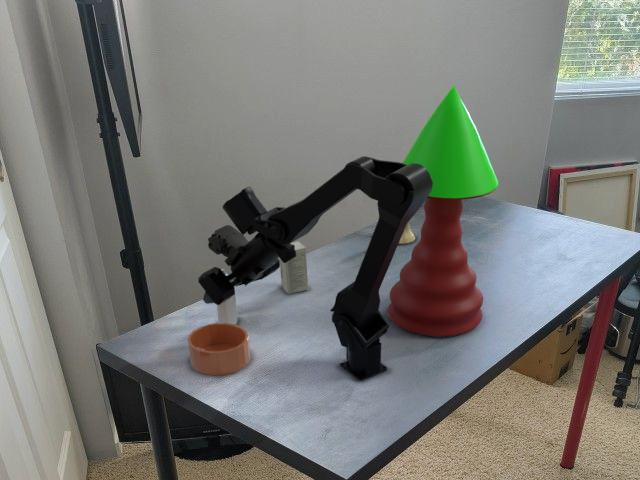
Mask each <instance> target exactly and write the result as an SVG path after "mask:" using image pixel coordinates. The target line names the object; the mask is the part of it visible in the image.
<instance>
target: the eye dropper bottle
mask: <svg viewBox="0 0 640 480" xmlns="http://www.w3.org/2000/svg"><path fill="white" fill-rule="evenodd" d="M220 269H221V268H220ZM225 269H226V268H222V269H221V270H222V272H223V273H224V274H225V276H227V275H229V274H228V273H227V272H226V270H225ZM215 305H216V315H217V323H228V324H234V325H237V323H238V319H239V317H238V309H237V307H238V306H237V298H236V293H235V294H234V295H233V296H232V297H231V298H230V299H228V300H227V301H225V302H223V303H222V304H220V305H217V304H215Z"/></svg>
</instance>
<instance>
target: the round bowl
mask: <svg viewBox="0 0 640 480" xmlns="http://www.w3.org/2000/svg"><path fill="white" fill-rule="evenodd" d="M249 337H250V336H249V333H248V331H247V330H246V329H245V328H243V327H242V326H240V325H237V324H236V325H234V324H228V323H218V322H216V323H210V324H206V325H205V324H204V325H203V326H200V327H198V328H195V329H194V330H193V331H192V332H190V334H189V335H188V337H187V347H188V354H189V360H190V365H191V367H192V368H193V369H194V370H195V371H197V372H199V373H201V374H205V375H208V376H209V375H210V376H226V375H231V374H234V373H236V372H239V371H241V370H242V369H244V368H245V367H246V366H247V365H248V364H249V362H250V359H251V351H250V349H251V348H250V339H249Z"/></svg>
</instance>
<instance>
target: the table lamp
mask: <svg viewBox="0 0 640 480" xmlns="http://www.w3.org/2000/svg"><path fill="white" fill-rule="evenodd" d="M402 163H404V164H407V165H409V164H412V163H417V164H420V165H422V166H423V167H425V168H426V169H427V171H428V172H429V174H430V176H431V179H432V180H433V186H432V190H431V192H430V194H429V195H428V197H427V198H426V200H425V201H424V203H423V211H424V216H425V218H424V221H423V223H422V225H421V229H420V239H419V241H417V243H416V244H415V245H414V247H413V249H412V251H411V255H410V260H409V261H407V263H405V264H404V265H403V266H402V267H401V269H400V272H399V280H398V281H397V282H395V284H393V286H392V287H391V288H390V290H389V301H390V303H389V306H388V307H387V315H388V317H389V319H390V320H391V321H392V323H394V324H395V325H396V326H397V327H399V328H400V329H402V330H404V331H406V332H409V333H411V334H415V335H421V336H426V337H427V336H428V337H436V338H437V337H439V338H440V337H441V338H444V337H445V338H446V337H453V336H458V335H462V334H466V333H468V332H470V331H472V330H474V329H475V328H476V327H478V326H479V325H480V324H481V322H482V320H483V312H482V306H483V304H484V295H483V293H482V291H481V290H480V288H479V287H478V285H476V284H477V274H476V272H475V270H474V269H473V268H472V267H471V266H470V264H469V263H468V262H469V261H468V259H469V256H468V251H467V249H466V247H465V245H464V244H463V243H462V237H463V228H462V225H461V217H462V215H463V211H464V202H463V200H470V199H477V198H481V197H484V196H487V195H490V194H492V193H493V192H495V191H496V189H498V187H499V179H498V178H497V176H496V172H495V170H494V168H493V165H492V163H491V160H490V159H489V155H488V153H487V151H486V148H485V146H484V144H483V140H482V139H481V136H480V134H479V132H478V129H477V127H476V125H475V123H474V121H473V119H472V117H471V115H470V113H469V111H468V109H467V108H466V105H465V104H464V102H463V100H462V97H460V95H459V92H458V90H457V89H456V87H455V85H452V87H451V88H450V90H449V91H448V92H447V94H446V95H445V96H444V98H442V100H441V102H440V103H439V105H438V106H437V107H436V109H435V110H434V111H433V113H432V114H431V116H430V117H429V118H428V120H427V121H426V123H425V124H424V126H423V127H422V129H421V131H420V133H419V134H418V135H417V138H416V140H415V141H414V143H413V144H412V146H411V148H410V149H409V150H408V153H407V154H406V156H405V158H404V159H403V161H402Z"/></svg>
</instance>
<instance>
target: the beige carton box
mask: <svg viewBox="0 0 640 480" xmlns="http://www.w3.org/2000/svg"><path fill="white" fill-rule="evenodd" d="M290 244H292V245H294V246H295V251H296V257H295V258H293V259H291V260H290V261H288V262H286V263H283V262H282V260H281V259H280V258H279V261H280V267H279V270H280V281H281V282H280V283H281V288H282V289H283V291H285V293H286V294H287V295H290V294H296V293H300V292H304V291H308V290H309V279H308V277H309V276H308V266H307V265H308V262H307V260H308V259H307V247H306V246H305V244H303V243H302V242H301V241H299V240H298V241H297V240H296V241H294V242H292V243H290Z"/></svg>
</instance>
